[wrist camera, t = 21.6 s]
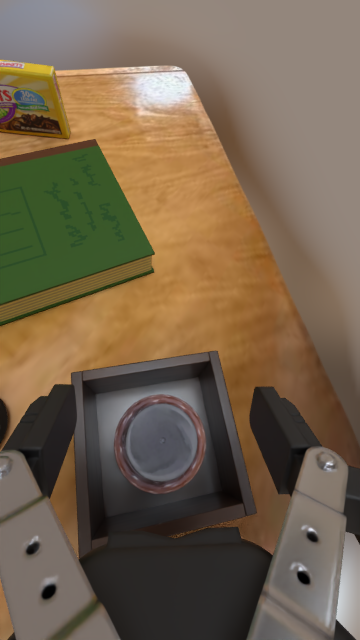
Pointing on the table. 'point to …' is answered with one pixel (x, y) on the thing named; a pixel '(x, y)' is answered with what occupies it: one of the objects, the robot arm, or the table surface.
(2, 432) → the beverage can
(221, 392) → the holder
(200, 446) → the supplement bottle
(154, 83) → the table surface
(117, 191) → the hardcover book
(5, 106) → the candy box
